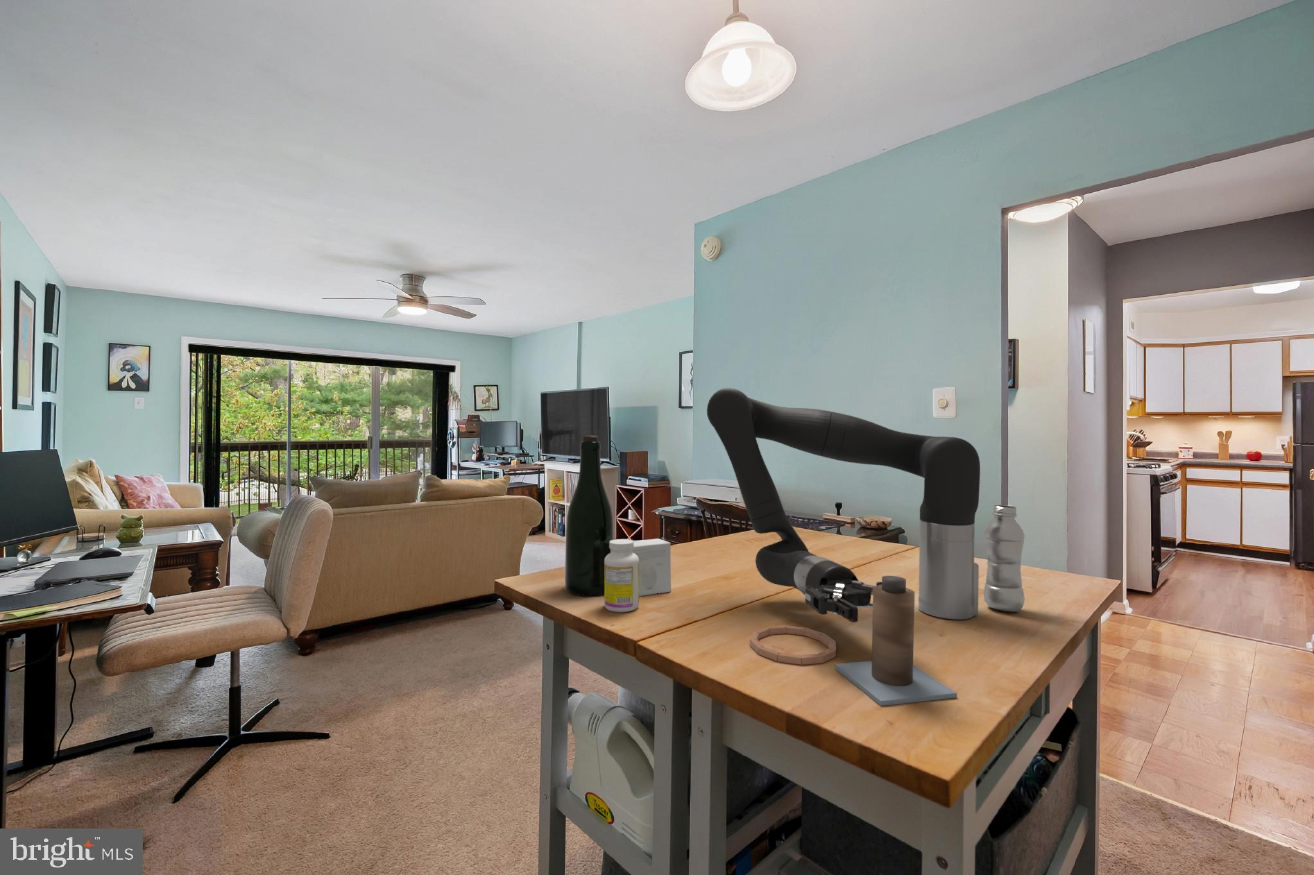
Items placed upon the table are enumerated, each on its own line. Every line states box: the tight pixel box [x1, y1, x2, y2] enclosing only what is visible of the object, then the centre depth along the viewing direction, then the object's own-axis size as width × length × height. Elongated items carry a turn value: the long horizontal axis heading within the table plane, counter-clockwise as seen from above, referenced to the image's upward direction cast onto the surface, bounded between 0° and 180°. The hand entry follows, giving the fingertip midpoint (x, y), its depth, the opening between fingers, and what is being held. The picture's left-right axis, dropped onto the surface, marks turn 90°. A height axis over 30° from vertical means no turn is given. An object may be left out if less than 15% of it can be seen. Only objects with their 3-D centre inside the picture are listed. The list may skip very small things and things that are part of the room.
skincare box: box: [633, 538, 672, 597], centre depth 117 cm, size 10×6×10 cm, turn 115°
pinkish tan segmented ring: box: [749, 625, 837, 665], centre depth 87 cm, size 13×13×1 cm
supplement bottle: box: [603, 538, 640, 613], centre depth 106 cm, size 7×7×13 cm
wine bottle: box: [564, 434, 615, 597], centre depth 117 cm, size 10×10×33 cm
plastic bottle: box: [982, 504, 1025, 612], centre depth 106 cm, size 6×7×20 cm
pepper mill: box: [871, 575, 916, 686], centre depth 75 cm, size 5×5×14 cm
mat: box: [834, 660, 958, 707], centre depth 75 cm, size 11×11×1 cm
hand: (883, 613), depth 78 cm, fingers open, 8 cm apart
